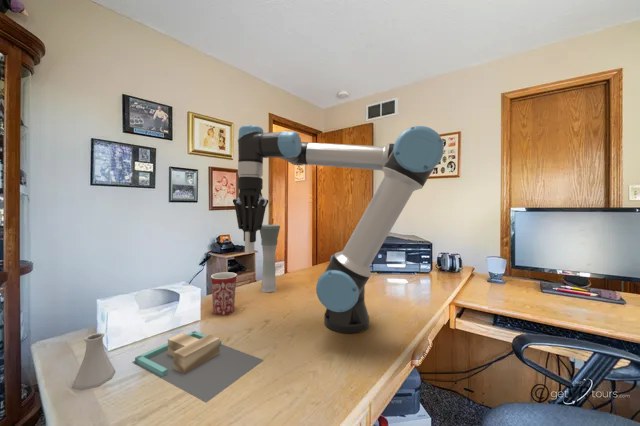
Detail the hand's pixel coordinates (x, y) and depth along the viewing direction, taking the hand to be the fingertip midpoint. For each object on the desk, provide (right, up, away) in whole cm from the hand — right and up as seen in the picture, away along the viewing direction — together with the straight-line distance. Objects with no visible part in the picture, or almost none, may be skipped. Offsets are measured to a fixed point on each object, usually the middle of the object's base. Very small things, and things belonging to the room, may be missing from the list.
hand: (249, 252), depth 85 cm
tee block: (-11, -24, -16) cm, 31 cm away
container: (-2, -24, +40) cm, 46 cm away
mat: (-8, -25, -18) cm, 32 cm away
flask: (-27, -25, -26) cm, 45 cm away
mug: (-14, -24, +16) cm, 32 cm away
